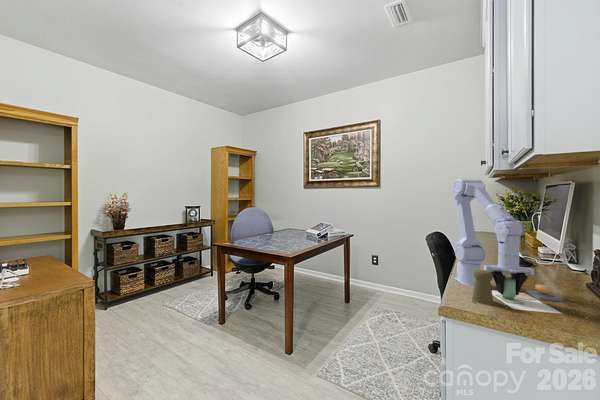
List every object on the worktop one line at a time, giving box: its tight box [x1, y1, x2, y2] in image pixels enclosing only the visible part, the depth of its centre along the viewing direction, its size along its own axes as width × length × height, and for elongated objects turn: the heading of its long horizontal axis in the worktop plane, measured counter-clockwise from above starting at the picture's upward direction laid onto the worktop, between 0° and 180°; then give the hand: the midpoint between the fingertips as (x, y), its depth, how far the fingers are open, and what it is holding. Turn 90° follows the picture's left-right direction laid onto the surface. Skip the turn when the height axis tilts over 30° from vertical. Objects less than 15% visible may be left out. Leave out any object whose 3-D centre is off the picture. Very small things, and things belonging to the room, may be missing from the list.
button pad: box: [525, 289, 564, 303], centre depth 91 cm, size 7×7×2 cm
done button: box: [534, 283, 553, 294], centre depth 91 cm, size 4×4×2 cm
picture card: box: [492, 289, 563, 315], centre depth 87 cm, size 18×13×1 cm
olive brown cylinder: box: [471, 269, 494, 306], centre depth 86 cm, size 6×6×11 cm
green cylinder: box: [501, 276, 516, 300], centre depth 89 cm, size 4×4×7 cm
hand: (507, 293), depth 89 cm, fingers closed on green cylinder, 4 cm apart
